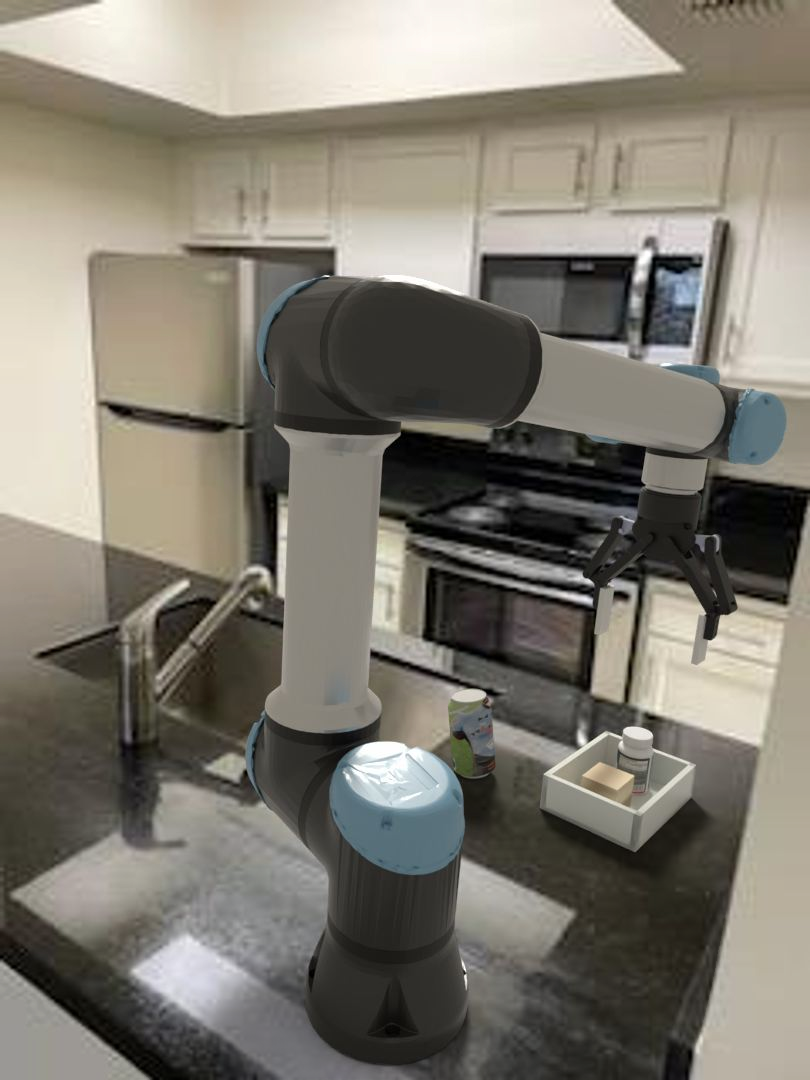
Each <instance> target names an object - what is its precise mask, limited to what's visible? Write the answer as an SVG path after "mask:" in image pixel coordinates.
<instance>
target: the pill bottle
mask: <svg viewBox="0 0 810 1080" xmlns="http://www.w3.org/2000/svg"><path fill="white" fill-rule="evenodd" d="M621 737H622V741H621V742H620V743H619V745H618V752H617V760H616V769H619V770H621V771H624V772H626V773H629V774H632V775H634V784H633V791H632V796H640V795H643V794H646V793H647V792H648V789H649V782H650V775H651V768H652V761H653V754H654V750H653V749H654V748H653V746H652V745H653V742H654V735H653V733H652V732H651V731H650V730H649V729H646V728H644V727H639V726H627V727H624V728H623V731H622V736H621Z"/></svg>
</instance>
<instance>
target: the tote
mask: <svg viewBox="0 0 810 1080" xmlns="http://www.w3.org/2000/svg"><path fill="white" fill-rule="evenodd" d="M621 741H622V736H621V735H618V734H615V733H613V732H611V731H608V730H605V731H604V732H602V733H601V734H600V735H598V736H597V737H595V738H594V739H593V740H590V741H589V742H588V743H587V744H585V745H583V746H582V747H581V748H579V749H578V750H576V751H574V753H572V754H571V755H569V756H567V757H566V758H565V759H563V760H561V761H560V762H559V763H557V764H556V765H554V766H553V767H552V768H550V769H549V770H547V771H546V772H545V773H543V774H542V781H541V782H542V783H541V790H540V791H541V793H540V800H539V801H540V803H539V809H540V810H542V811H545V812H547V813H549V814H552V815H553V816H555V817H558V818H560V819H562V820H565V821H566V822H568V823H571V824H573V825H574V826H577V827H579V828H581V829H583V830H586V831H589V832H591V833H592V834H594V835H597V836H598V837H601V838H603V839H604V840H608V841H609V842H611V843H614V844H616V845H618V846H619V847H623V848H624V849H627V850H629V851H631V852H632V853H633V852H634V853H637V851H638V850H639V849H640V848H642V846H643V845H644V844H645V843H646V842H647V841H649V839H651V837H652V836H653V835H655V834H656V833H657V832H658V831H659V830H660V829H661V828H662V827H663V826H664V825H665V824H666V823H667V822H668V821H669V820H670V819H671V818H672V817H673V816H674V815H675V814H676V813H677V812H679V810H680V809H681V808H683V806H684V805H686V803H687V802H689V801H690V800H691V798H692V796H693V789H694V784H695V777H696V770H697V764H695V763H693V762H690V761H688V760H686V759H682V758H679V757H678V756H674V755H672V754H669V753H666V752H663V751H661V750H658V749H655V748H653V750H654V754H653V761H652V768H651V775H650V782H649V789H648V792H647V793H646V794H643V795H640V796H632V798H631V806H630V808H629V807H626V806H624V805H622V804H619V803H617V802H615V801H612V800H610V799H608V798H606V797H603V796H601V795H599V794H596V793H594V792H592V791H589V790H587V789H585V788H582V787H581V780H582V775H583V774H585V773H586V772H587V771H589V770H590V769H591V768H593V767H594V766H595V765H596V764H598V763H599V762H601V763H604V764H606V765H609V766H611V767H614V768H616V760H617V752H618V745H619V743H620V742H621Z"/></svg>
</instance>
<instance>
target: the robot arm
mask: <svg viewBox="0 0 810 1080" xmlns="http://www.w3.org/2000/svg"><path fill="white" fill-rule="evenodd" d="M256 355H257V362H258V365H259V369H260V372H261V374H262V376H263V378H264V379H265V380H266V383H268V385H269V386H270V388H271V389H273V390H274V417H273V418H274V419H273V420H274V421H273V423H274V424H273V425H274V429H275V430H276V431H277V432H278V433H279V435H281V437H283V439H284V440H285V441H286V442H287V443H288V446H289V470H288V472H289V474H288V475H289V476H288V478H289V479H288V496H287V497H288V498H287V499H288V502H287V503H288V504H287V527H286V529H287V530H286V550H285V551H286V552H285V553H286V554H285V581H284V583H285V584H284V608H283V610H284V611H283V631H282V632H283V633H282V657H281V659H282V660H281V661H282V662H281V683H280V685H279V686H277V687H276V688H275V689H274V690H272V691H271V692H270V693H268V695H267V696H266V699H265V703H264V710H263V711H262V712H261V713H260V716H261V717H260V719H259V721H258V722H255V723H253V724H252V725H253V726H252V727H251V730H250V732H249V734H248V738H247V741H246V746H245V757H244V758H245V766H246V772H247V775H248V777H249V779H250V782H251V784H252V786H253V787H254V789H255V791H256V793H257V794H258V797H259V798H260V799H261V800H262V802H263V804H265V806H266V807H267V808H268V809H269V810H270V811H272V812H273V813H274V814H275V815H276V816H277V817H278V818H279V819H280V820H281V821H282V822H283V824H284V825H286V827H287V828H288V830H290V831H291V832H292V833H293V834H294V836H295V837H296V838H297V839H298V840H299V841H300V842H301V844H303V845H304V846H305V847H306V848H307V849H308V851H309V852H310V853H311V854H312V855H313V856H314V857H315V858H316V859H317V861H318V862H319V863H320V864H321V865H322V866H323V868H324V869H325V870H326V874H327V878H328V888H327V889H328V890H327V911H326V912H327V914H326V916H327V917H326V921H325V925H324V927H323V929H322V932H321V934H320V937H319V939H318V941H317V944H316V946H315V948H314V951H313V952H312V953H313V954H312V956H311V958H310V961H309V962H308V966H307V971H306V976H305V994H304V996H305V998H304V999H305V1000H304V1001H305V1002H304V1003H305V1009H306V1013H307V1016H308V1018H309V1021H310V1023H311V1025H312V1027H313V1028H314V1030H315V1032H316V1033H317V1034H318V1035H319V1037H321V1038H322V1040H324V1041H325V1042H326V1043H327V1044H328V1045H329V1046H330V1047H332V1048H334V1050H336V1051H338V1052H340V1053H341V1054H344V1055H345V1056H348V1057H350V1058H353V1059H355V1060H358V1061H362V1062H365V1063H371V1064H376V1065H377V1064H378V1065H400V1064H401V1065H402V1064H409V1063H412V1062H417V1061H420V1060H424V1059H426V1058H428V1057H430V1056H432V1055H434V1054H435V1053H438V1052H439V1051H441V1050H442V1049H444V1048H445V1047H446V1046H448V1045H449V1043H451V1042H452V1041H453V1040H454V1039H455V1037H456V1036H457V1035H458V1033H459V1032H460V1030H461V1028H462V1026H463V1025H464V1022H465V1019H466V1017H467V1013H468V1012H467V1011H468V1010H467V1009H468V1001H469V989H470V988H469V977H468V973H467V969H466V966H465V962H464V960H463V958H462V956H461V953H460V949H459V947H460V946H459V943H458V937H457V934H456V930H455V927H456V925H455V924H456V913H457V905H458V903H457V902H458V894H459V884H460V883H459V882H460V875H461V866H462V865H461V862H462V855H463V854H462V853H463V843H464V842H463V841H464V837H465V836H464V835H465V831H466V830H465V829H466V825H465V824H466V823H465V822H466V821H465V815H464V813H465V812H464V794H463V789H462V785H461V783H460V781H459V779H458V778H457V776H456V773H454V772H455V771H454V770H452V769H451V768H450V766H449V765H448V764H447V763H446V762H445V761H444V760H443V759H441V758H440V757H438V756H437V755H436V754H434V753H432V752H431V751H428V750H427V749H424V748H422V747H420V746H414V747H413V748H412V747H411V748H410V747H407V744H406V742H400V741H399V742H398V741H390V740H389V741H386V740H383V741H380V740H381V724H382V711H383V710H382V708H383V707H382V701H381V700H380V698H379V697H378V696H377V695H376V694H375V692H373V691H372V690H371V689H370V688H369V679H370V678H369V675H370V663H371V662H370V659H371V643H372V642H371V641H372V630H373V629H372V626H373V613H374V597H375V596H374V595H375V581H376V565H377V564H376V563H377V551H378V536H379V535H378V533H379V532H378V531H379V521H380V520H379V519H380V503H381V502H380V501H381V487H382V486H381V485H382V472H383V471H382V470H383V469H382V468H383V455H384V453H385V450H386V448H388V447H389V446H391V444H392V443H393V442H395V440H397V439H399V437H400V436H401V435H402V434H401V431H402V422H403V423H404V422H405V423H407V422H408V423H432V424H434V423H439V424H464V425H471V426H477V427H484V428H489V429H503V428H507V427H508V426H511V425H513V424H514V423H517V422H521V423H522V422H523V423H528V424H534V425H536V426H537V425H539V426H542V427H543V426H544V427H547V428H548V427H549V428H554V429H558V430H564V431H571V432H573V433H574V432H575V433H579V434H584V435H586V437H587V438H589V439H590V440H591V441H594V442H597V443H605V444H611V445H617V444H629V445H635V446H640V447H641V446H642V447H646V448H645V456H644V462H643V469H642V474H641V482H642V483H643V484H644V486H642V487H641V488H640V489H639V497H638V502H637V509H636V513H637V516H636V519H635V520H632V519H630V518H629V517H628V515H619V516H616V517H614V518H612V521H611V523H610V524H611V525H610V529H609V532H608V534H607V535H606V537H605V539H604V540H603V541H602V543H601V545H599V547H598V548H597V550H596V552H595V553H594V555H593V556H592V558H591V559H590V561H589V562H588V564H587V565H586V567H585V568H584V570H583V571H582V577H583V578H584V579H587V580H590V581H591V582H592V583H593V585H594V588H593V589H594V590H593V595H592V596H593V597H592V602H591V603H592V608H593V609H596V617H595V626H594V633H593V634H594V635H598V636H600V635H603V634H605V633H607V632H609V631H610V630H609V629H610V622H611V614H612V607H613V601H614V593H615V585H612V584H609V583H611V582H612V581H613V579H615V578H616V577H618V576H619V574H621V573H623V572H624V571H625V570H626V569H627V568H628V567H630V565H631V564H633V563H634V562H635V561H636V560H637V559H639V558H640V557H641V556H642V555H644V556H645V558H647V559H650V560H659V561H661V562H663V563H668V564H671V563H675V565H676V567H677V568H678V569H679V570H680V571H681V572H682V573H683V576H684V577H685V579H686V581H687V582H688V584H689V586H690V588H691V590H692V591H693V593H694V595H695V596H696V598H697V600H698V602H699V604H700V605H701V607H702V609H703V610H704V611H703V612H701V613H699V614H698V618H697V623H696V624H697V625H696V630H695V636H694V643H693V648H692V655H691V661H690V664H691V665H695V666H698V665H699V664H701V663H702V662H704V661H705V660H706V656H707V651H708V649H707V648H708V644H709V641H710V642H711V641H713V640H714V639H716V637H717V636H718V630H719V624H720V619H721V616H729V615H731V614H733V613H735V612H737V610H738V609H739V608H738V607H739V606H738V603H737V600H736V595H735V594H734V590H733V586H732V583H731V579H730V578H729V575H728V571H727V570H728V569H727V567H726V565H725V561H724V558H723V555H722V544H723V542H722V541H723V540H722V538H723V537H722V536H721V535H720V534H717V533H714V534H713V535H709V534H708V535H707V534H706V535H705V534H699V532H698V524H699V518H700V511H701V507H702V506H701V504H702V499H703V496H702V495H701V493H700V492H698V491H701V490H702V489H704V484H705V478H706V474H707V467H708V462H709V461H708V460H709V459H711V460H717V461H722V462H727V463H730V464H733V465H738V464H741V465H748V466H761V465H763V464H765V463H768V462H769V461H771V459H772V458H774V457H775V455H776V454H777V452H779V449H780V448H781V445H782V443H783V441H784V436H785V434H786V433H785V432H786V430H787V429H786V428H787V413H786V407H785V405H784V403H783V401H782V400H781V398H779V397H778V396H777V395H776V394H774V393H771V392H766V391H762V390H761V391H759V390H756V389H754V388H747V389H745V388H738V387H737V388H736V387H731V386H727V385H723V384H720V378H721V375H720V371H719V370H718V369H717V368H716V367H714V366H710V365H709V366H708V365H698V364H697V365H696V364H688V363H687V364H685V363H684V364H683V363H672V362H671V363H670V362H663V363H661V364H660V365H659V366H657V365H653V364H650V363H646V362H643V361H641V360H636V359H633V358H630V357H627V356H622V355H619V354H616V353H612V352H609V351H606V350H601V349H599V348H595V347H591V346H589V345H585V344H581V343H577V342H575V341H570V340H567V339H563V338H560V337H557V336H553V335H550V334H546V333H542V332H541V331H540V329H539V327H538V325H537V324H536V323H535V322H534V321H533V320H532V318H530V317H529V316H528V315H526V314H523V313H520V312H517V311H514V310H511V309H507V308H504V307H502V306H499V305H496V304H494V303H490V302H488V301H485V300H482V299H479V298H477V297H474V296H471V295H469V294H466V293H463V292H460V291H457V290H454V289H451V288H449V287H446V286H443V285H439V284H438V283H434V282H432V281H429V280H428V281H427V280H425V279H421V278H416V277H412V276H406V275H400V274H399V275H397V274H393V275H391V274H390V275H377V276H374V275H373V276H371V275H368V276H366V275H365V276H364V275H362V276H361V275H360V276H359V275H357V276H356V275H354V276H353V275H323V276H320V277H317V278H311V279H309V280H304V281H301V282H298V283H296V284H293V285H291V286H290V287H288V288H287V289H285V290H284V291H282V292H281V293H280V294H279V295H278V296H277V297H276V299H274V300H273V301H272V302H271V304H269V307H267V310H266V312H265V313H264V315H263V317H262V319H261V323H260V324H259V328H258V332H257V339H256ZM630 531H632V534H633V536H634V537H635V541H636V542H635V543H634V544H632V546H631V547H629V548H628V549H627V550H626V551H625V552H624V553H623V554H621V556H620V557H618V558H617V559H616V560H615V561H614V562H613V563H611V564H610V565H609V566H608V567H607V568H606V569H604V570H603V571H602V569H603V568H604V566H605V565H606V563H607V562H608V560H609V559H610V557H611V556H612V555H613V553H614V552H615V550H616V549H617V547H618V546H619V544H620V543H621V542H622V540H623V538H624V537H625V535H628V534H629V533H630ZM696 545H698V546H699V547H700V551H701V552H702V553H703V554H704V560H705V564H706V567H707V569H708V574H709V576H710V580H711V583H712V586H713V589H712V587H711V585H710V583H709V581H708V580H707V578H706V576H705V575H704V574H703V571H702V570H701V568H700V566H699V564H698V561H697V560H698V559H697V558H696V556H695V554H694V553H693V551H692V549H693V548H694V547H695V546H696ZM601 571H602V572H601Z"/></svg>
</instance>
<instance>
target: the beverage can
mask: <svg viewBox="0 0 810 1080" xmlns="http://www.w3.org/2000/svg"><path fill="white" fill-rule="evenodd" d="M450 697H451V698H450V700H449V702H448V704H447V711H448V725H449V734H450V735H449V736H450V747H451V760H452V761H451V762H452V768H453V772H455V774H458V775H460V776H461V777H463V778H465V779H474V780H475V779H481V778H485V777H486V776H488V775H489V774H490V773H492V772H493V771H494V770H495V769H496V753H495V739H494V738H495V737H494V728H493V727H494V725H493V713H492V711H493V710H492V702H491V700H490V699H489V697H488V696H487V693H486V691H484V690H482V689H478V688H464V689H463V688H462V689H459V690H456V691H454V692H453V693H452V694H451V696H450Z"/></svg>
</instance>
